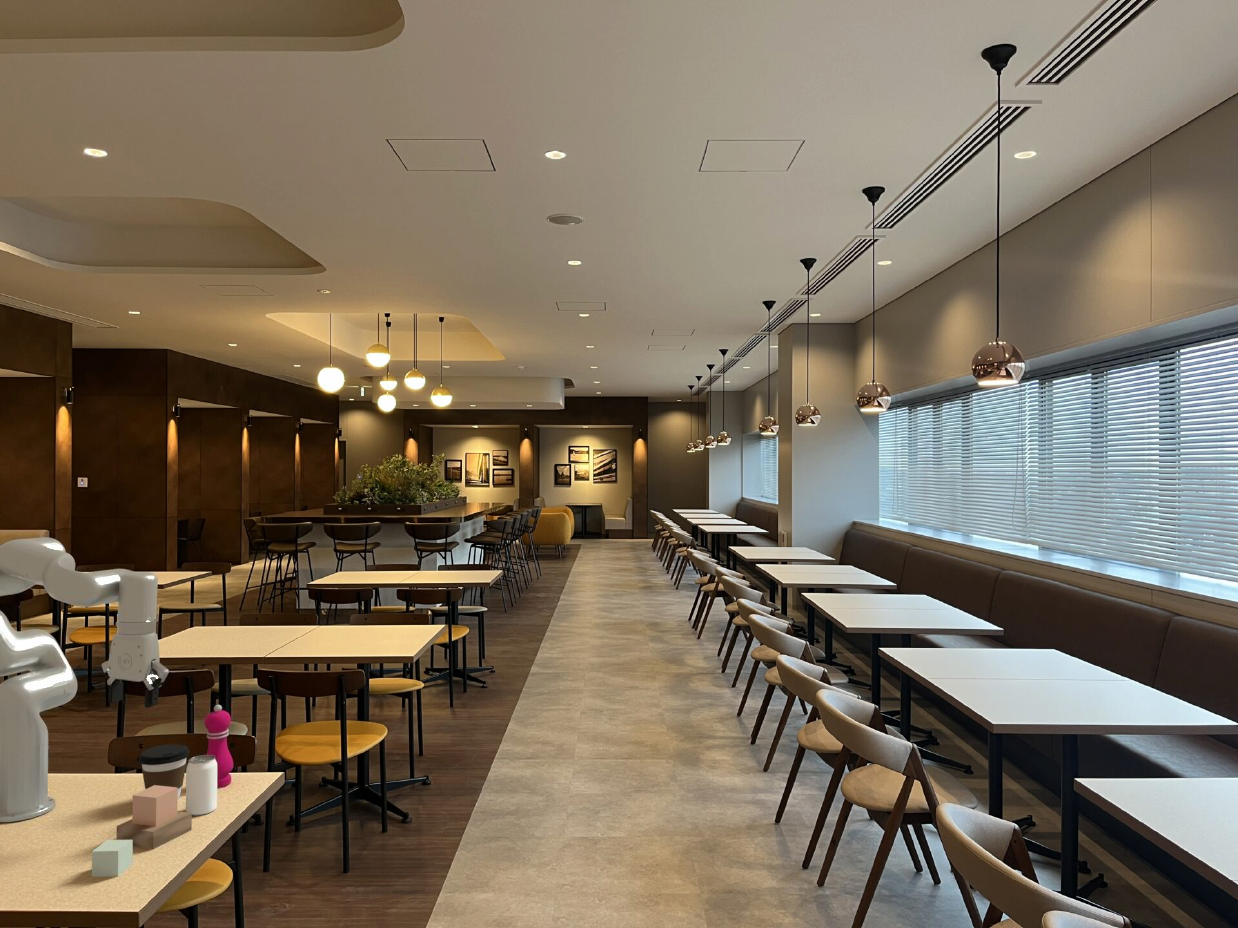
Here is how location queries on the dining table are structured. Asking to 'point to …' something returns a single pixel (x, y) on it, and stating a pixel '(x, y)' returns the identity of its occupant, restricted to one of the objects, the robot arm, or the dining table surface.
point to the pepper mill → (219, 744)
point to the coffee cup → (164, 765)
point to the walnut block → (155, 831)
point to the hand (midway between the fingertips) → (133, 703)
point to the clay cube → (154, 805)
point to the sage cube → (112, 858)
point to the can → (201, 785)
